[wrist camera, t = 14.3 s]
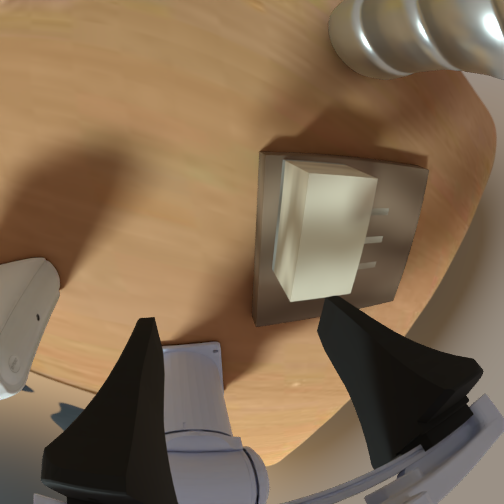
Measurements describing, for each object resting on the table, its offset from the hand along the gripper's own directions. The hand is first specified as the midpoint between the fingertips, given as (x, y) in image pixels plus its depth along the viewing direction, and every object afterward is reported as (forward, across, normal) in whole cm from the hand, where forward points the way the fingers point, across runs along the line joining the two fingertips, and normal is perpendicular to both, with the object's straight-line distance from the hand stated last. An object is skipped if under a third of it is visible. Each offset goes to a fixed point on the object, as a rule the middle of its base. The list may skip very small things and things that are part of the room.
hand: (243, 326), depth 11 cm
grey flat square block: (+10, -10, +2) cm, 15 cm away
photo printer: (+10, +18, +3) cm, 21 cm away
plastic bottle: (+10, -10, -15) cm, 21 cm away
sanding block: (+8, -6, -1) cm, 11 cm away
